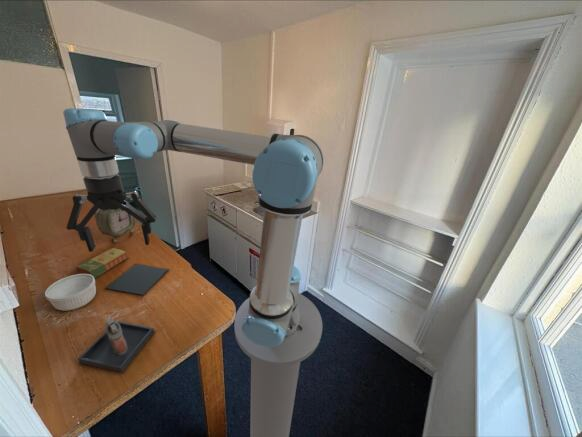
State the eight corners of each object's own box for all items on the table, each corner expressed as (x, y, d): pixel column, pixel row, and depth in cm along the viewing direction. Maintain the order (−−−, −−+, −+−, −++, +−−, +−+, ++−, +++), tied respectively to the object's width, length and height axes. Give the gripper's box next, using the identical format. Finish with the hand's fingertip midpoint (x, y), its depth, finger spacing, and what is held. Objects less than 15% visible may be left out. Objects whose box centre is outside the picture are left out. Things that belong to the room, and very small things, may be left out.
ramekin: (78, 284, 92) (73, 270, 89) (108, 290, 91) (103, 276, 88) (41, 310, 80) (33, 295, 77) (74, 317, 79) (67, 302, 76)
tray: (154, 332, 76) (153, 327, 75) (122, 372, 64) (120, 368, 64) (117, 324, 78) (116, 320, 77) (80, 363, 66) (77, 358, 65)
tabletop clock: (115, 245, 118) (101, 199, 107) (100, 242, 119) (85, 196, 109) (137, 232, 131) (127, 190, 120) (123, 229, 132) (112, 187, 122)
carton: (128, 258, 109) (126, 251, 107) (92, 279, 95) (89, 271, 93) (114, 254, 111) (112, 246, 109) (77, 274, 97) (74, 266, 95)
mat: (168, 270, 104) (168, 269, 104) (142, 295, 90) (142, 294, 90) (135, 264, 106) (135, 264, 105) (105, 288, 91) (105, 288, 91)
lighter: (109, 340, 72) (100, 317, 68) (122, 333, 74) (114, 311, 70) (116, 358, 67) (107, 335, 63) (130, 350, 70) (122, 327, 65)
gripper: (158, 170, 67) (169, 234, 76) (44, 172, 58) (72, 245, 67) (155, 177, 61) (167, 246, 70) (27, 181, 51) (60, 259, 60)
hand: (121, 245), depth 68 cm, fingers open, 13 cm apart
